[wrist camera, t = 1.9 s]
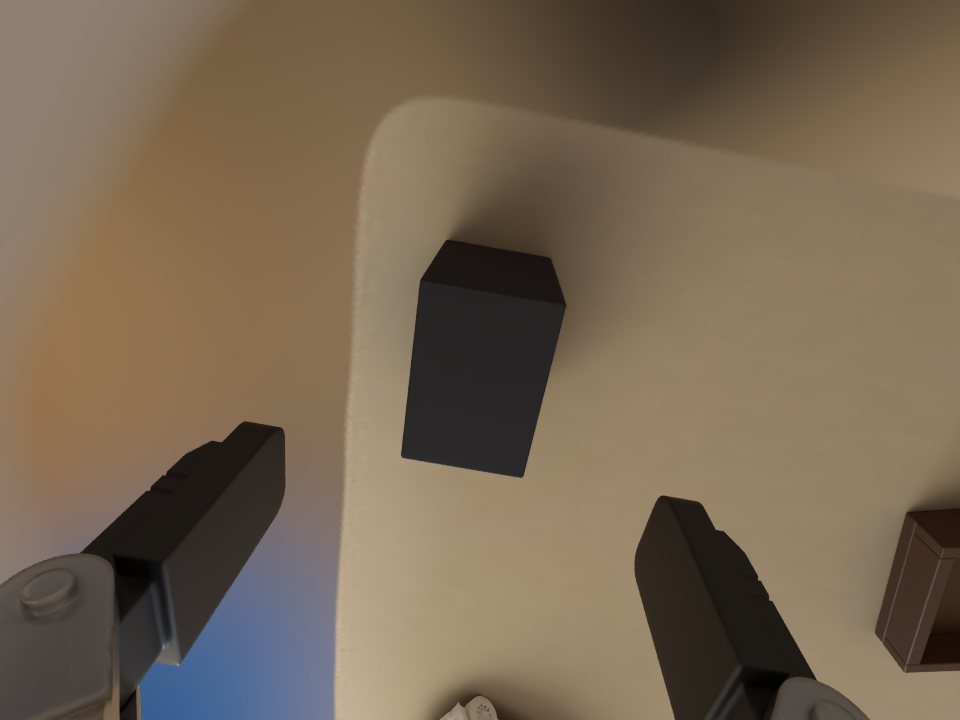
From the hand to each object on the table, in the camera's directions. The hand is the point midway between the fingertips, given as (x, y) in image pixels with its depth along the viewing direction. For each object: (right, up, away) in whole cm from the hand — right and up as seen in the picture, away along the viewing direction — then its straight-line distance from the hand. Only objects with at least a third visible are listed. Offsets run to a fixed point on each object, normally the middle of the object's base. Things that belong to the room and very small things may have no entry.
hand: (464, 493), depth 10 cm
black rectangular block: (+1, +4, +9) cm, 10 cm away
